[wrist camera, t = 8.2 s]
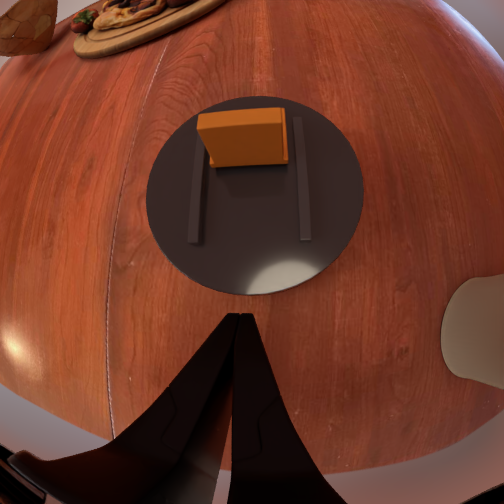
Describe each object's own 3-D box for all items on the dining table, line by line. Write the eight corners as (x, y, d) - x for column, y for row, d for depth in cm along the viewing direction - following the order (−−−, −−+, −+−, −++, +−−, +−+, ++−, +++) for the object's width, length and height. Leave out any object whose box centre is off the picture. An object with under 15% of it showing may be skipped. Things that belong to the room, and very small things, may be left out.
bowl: (47, 36, 40) (17, -1, 21) (90, 14, 37) (60, -33, 18) (7, 87, 37) (-32, 51, 17) (44, 67, 34) (-2, 17, 14)
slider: (288, 164, 12) (288, 122, 9) (211, 168, 12) (191, 130, 9) (284, 112, 13) (283, 67, 10) (215, 117, 13) (200, 75, 10)
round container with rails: (336, 298, 20) (378, 291, 10) (194, 298, 21) (130, 291, 12) (327, 165, 22) (347, 89, 12) (201, 170, 23) (158, 102, 14)
